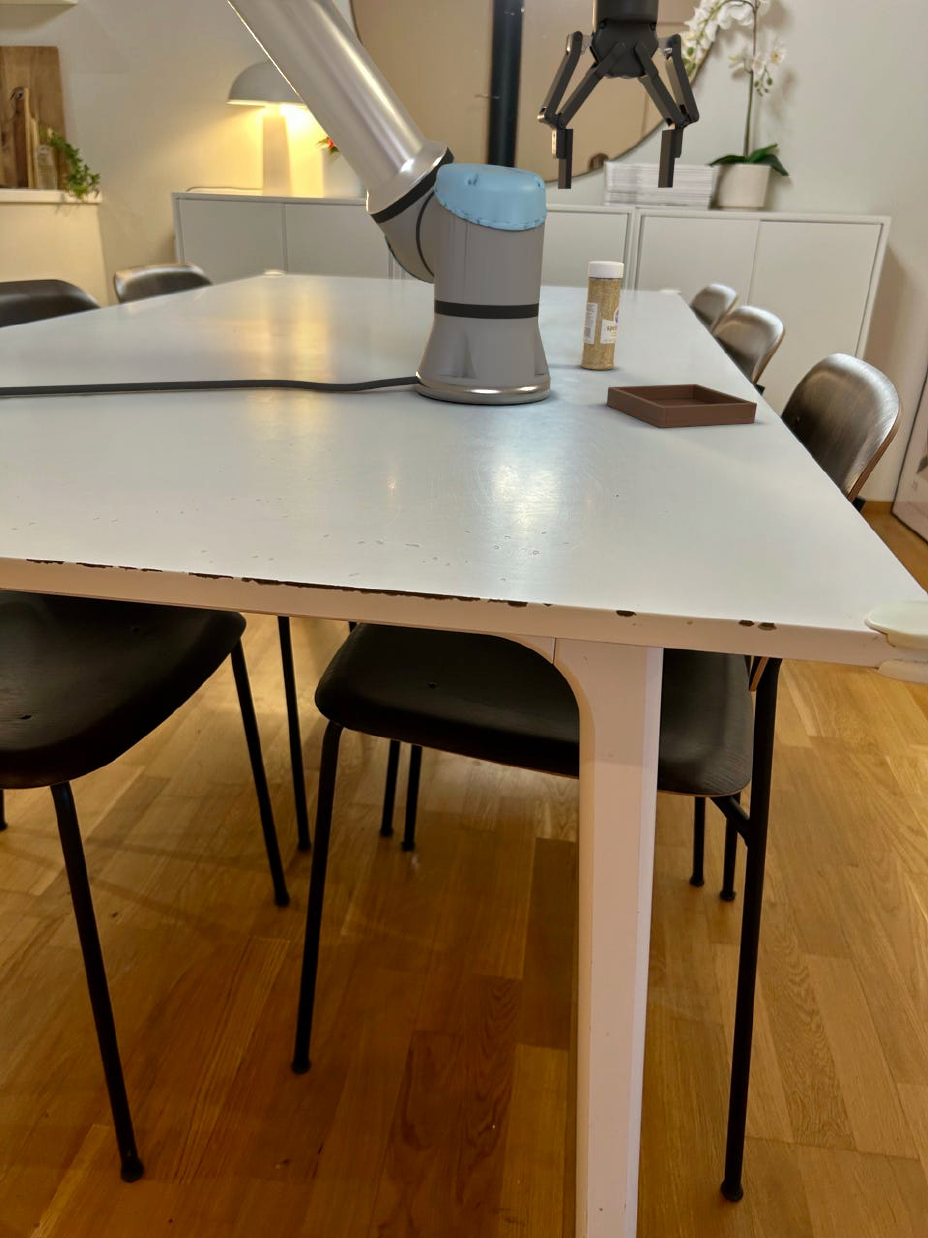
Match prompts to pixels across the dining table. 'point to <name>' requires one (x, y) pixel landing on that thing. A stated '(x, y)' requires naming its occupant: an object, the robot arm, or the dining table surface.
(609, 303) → the spice jar
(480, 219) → the robot arm
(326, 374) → the dining table surface
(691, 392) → the serving tray
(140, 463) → the dining table surface
